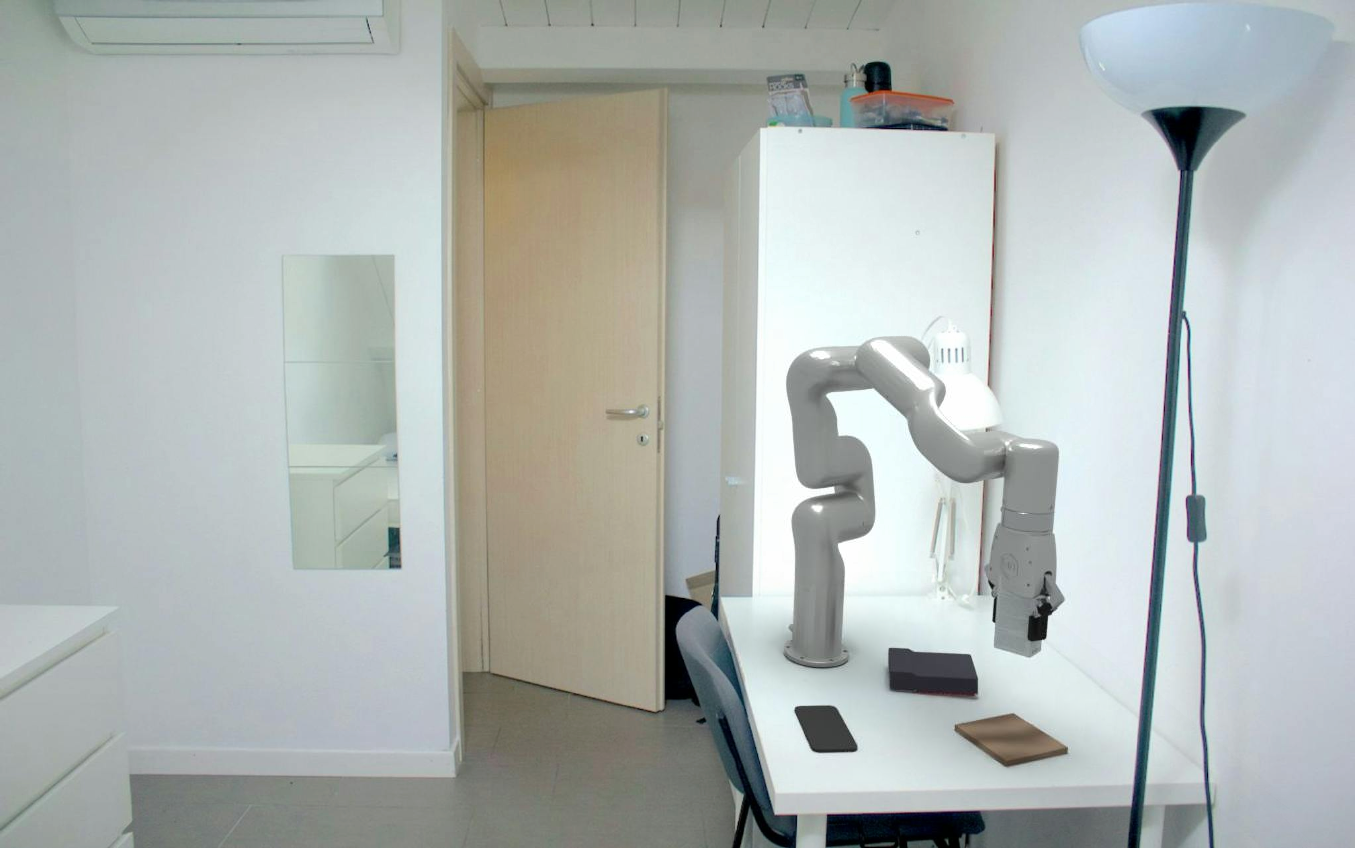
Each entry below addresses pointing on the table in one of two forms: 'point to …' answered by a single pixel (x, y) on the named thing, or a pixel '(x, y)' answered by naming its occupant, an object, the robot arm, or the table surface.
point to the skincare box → (1013, 624)
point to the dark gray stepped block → (932, 672)
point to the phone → (825, 729)
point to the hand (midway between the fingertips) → (1018, 630)
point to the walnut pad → (1010, 739)
